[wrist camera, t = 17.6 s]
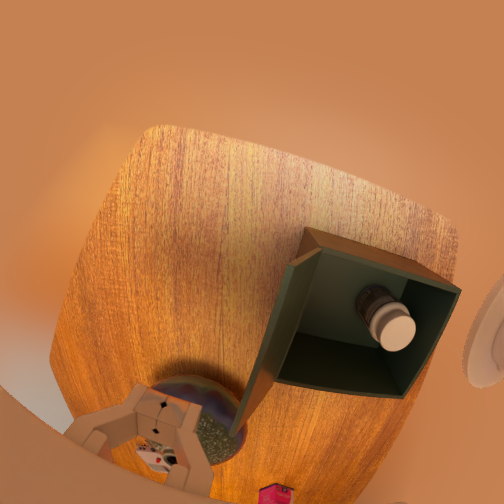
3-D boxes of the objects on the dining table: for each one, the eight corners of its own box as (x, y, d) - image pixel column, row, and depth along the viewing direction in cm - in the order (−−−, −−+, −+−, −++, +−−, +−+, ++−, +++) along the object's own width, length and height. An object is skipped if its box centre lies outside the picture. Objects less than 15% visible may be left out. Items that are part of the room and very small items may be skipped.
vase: (235, 351, 34) (214, 425, 21) (262, 424, 37) (255, 490, 24) (140, 361, 36) (98, 417, 23) (178, 427, 39) (154, 482, 26)
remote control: (161, 472, 45) (158, 481, 42) (128, 434, 42) (122, 443, 39) (185, 475, 44) (182, 484, 41) (152, 437, 41) (147, 447, 38)
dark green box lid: (272, 386, 22) (267, 384, 22) (322, 248, 19) (317, 246, 19) (233, 438, 15) (228, 435, 15) (295, 266, 12) (286, 263, 12)
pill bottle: (394, 308, 30) (422, 341, 22) (361, 324, 31) (382, 362, 23) (385, 276, 30) (415, 304, 21) (350, 293, 30) (371, 326, 22)
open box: (273, 327, 33) (270, 381, 23) (305, 226, 30) (319, 245, 19) (377, 349, 32) (403, 399, 22) (415, 261, 29) (462, 289, 19)
